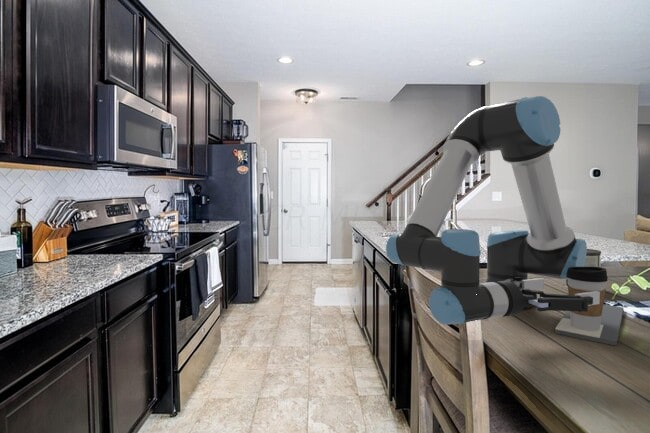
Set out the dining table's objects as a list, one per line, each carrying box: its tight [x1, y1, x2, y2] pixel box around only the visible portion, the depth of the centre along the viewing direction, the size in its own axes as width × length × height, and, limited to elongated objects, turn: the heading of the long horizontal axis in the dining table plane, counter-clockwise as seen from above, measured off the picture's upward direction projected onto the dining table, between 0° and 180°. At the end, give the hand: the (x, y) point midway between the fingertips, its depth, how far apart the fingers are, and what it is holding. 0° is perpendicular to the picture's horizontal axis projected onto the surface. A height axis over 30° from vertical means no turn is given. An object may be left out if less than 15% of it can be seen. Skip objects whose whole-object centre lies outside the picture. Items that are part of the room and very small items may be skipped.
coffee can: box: [565, 248, 602, 289], centre depth 131 cm, size 10×10×14 cm
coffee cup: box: [566, 266, 609, 331], centre depth 91 cm, size 8×8×15 cm
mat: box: [554, 304, 624, 346], centre depth 98 cm, size 32×12×1 cm, turn 138°
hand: (568, 289), depth 86 cm, fingers open, 13 cm apart
